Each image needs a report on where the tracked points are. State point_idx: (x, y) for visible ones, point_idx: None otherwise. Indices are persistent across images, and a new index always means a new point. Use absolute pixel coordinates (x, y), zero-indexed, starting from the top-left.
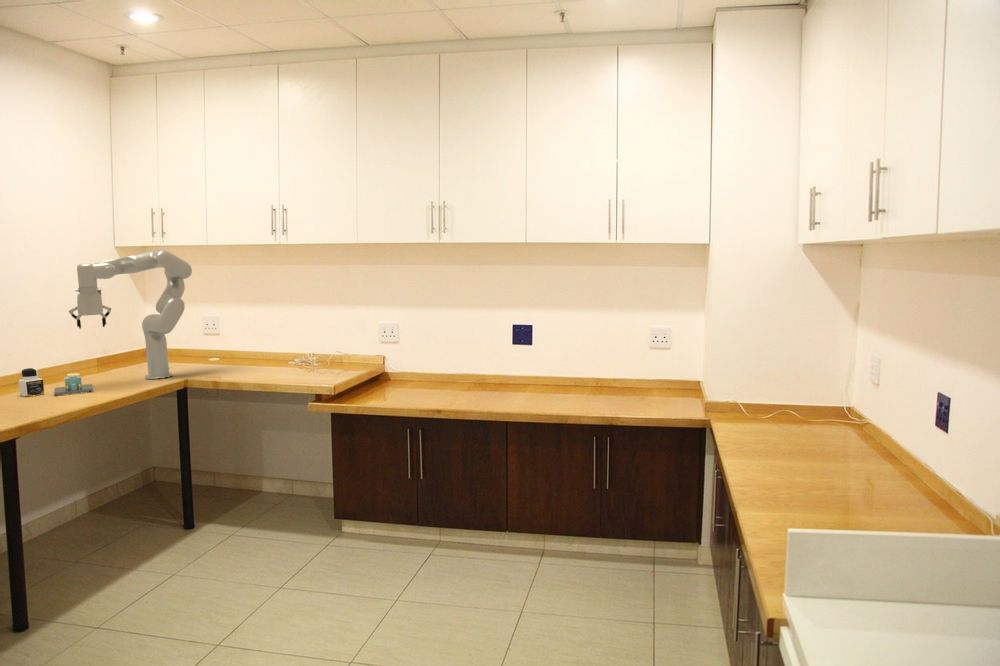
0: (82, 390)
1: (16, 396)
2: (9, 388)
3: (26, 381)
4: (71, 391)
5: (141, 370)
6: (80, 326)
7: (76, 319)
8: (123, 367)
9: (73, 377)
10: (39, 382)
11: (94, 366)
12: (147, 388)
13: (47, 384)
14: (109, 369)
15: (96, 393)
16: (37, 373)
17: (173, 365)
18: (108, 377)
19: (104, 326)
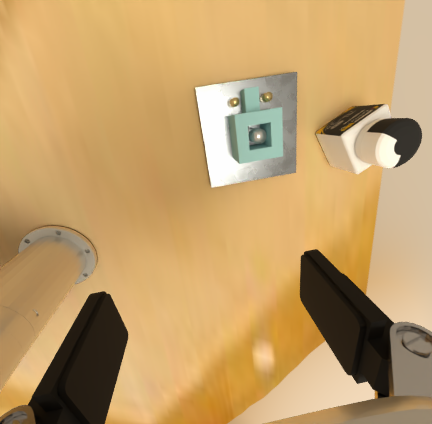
0: (223, 83)
1: None
2: (369, 257)
3: (386, 104)
4: (252, 79)
5: (140, 356)
6: (313, 263)
7: (419, 327)
8: (185, 392)
9: (258, 148)
10: (345, 127)
11: (236, 411)
12: (18, 48)
13: None
14: (207, 381)
15: (179, 45)
16: (367, 139)
17: None
18: (194, 303)
19: (93, 293)
